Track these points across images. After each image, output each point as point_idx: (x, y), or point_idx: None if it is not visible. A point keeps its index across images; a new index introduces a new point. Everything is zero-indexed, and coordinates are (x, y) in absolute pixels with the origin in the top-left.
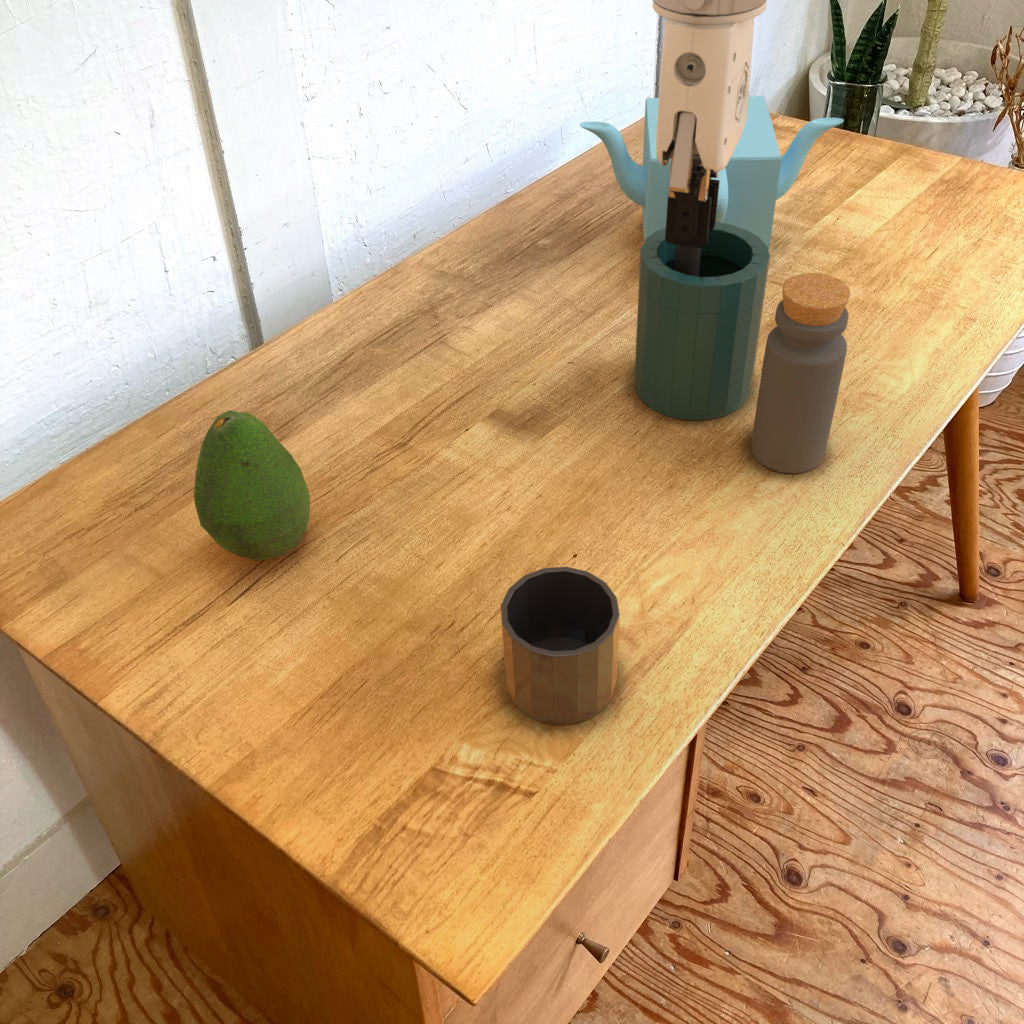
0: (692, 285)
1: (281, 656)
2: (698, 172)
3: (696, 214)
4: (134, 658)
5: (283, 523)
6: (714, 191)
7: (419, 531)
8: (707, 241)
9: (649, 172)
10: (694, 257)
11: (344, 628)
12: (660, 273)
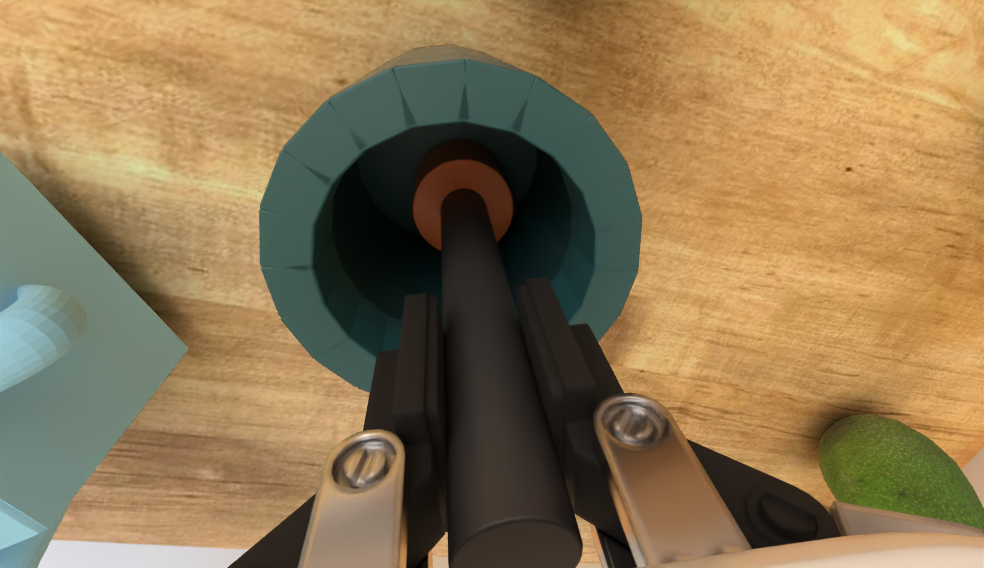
0: (639, 238)
1: (973, 353)
2: (569, 534)
3: (615, 379)
4: (961, 435)
5: (934, 445)
6: (437, 391)
7: (813, 335)
8: (528, 280)
9: (68, 500)
10: (502, 282)
11: (945, 328)
12: (604, 326)
